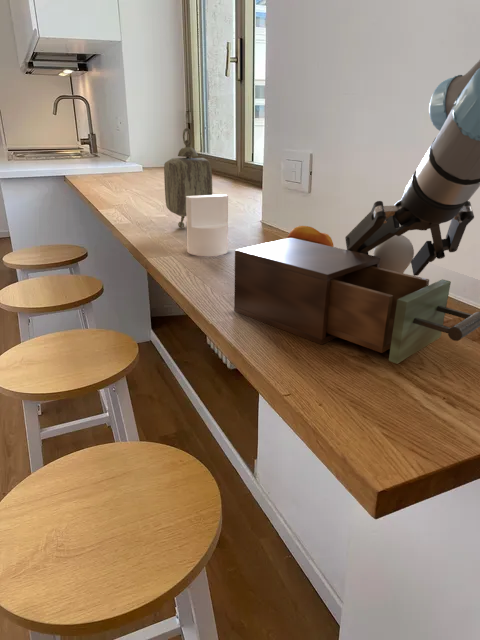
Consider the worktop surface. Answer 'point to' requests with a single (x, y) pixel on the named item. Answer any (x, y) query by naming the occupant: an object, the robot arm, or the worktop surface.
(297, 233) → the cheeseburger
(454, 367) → the worktop surface
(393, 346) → the drawer
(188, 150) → the cowbell
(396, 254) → the lightbulb
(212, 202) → the base with upright slab
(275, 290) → the cabinet
